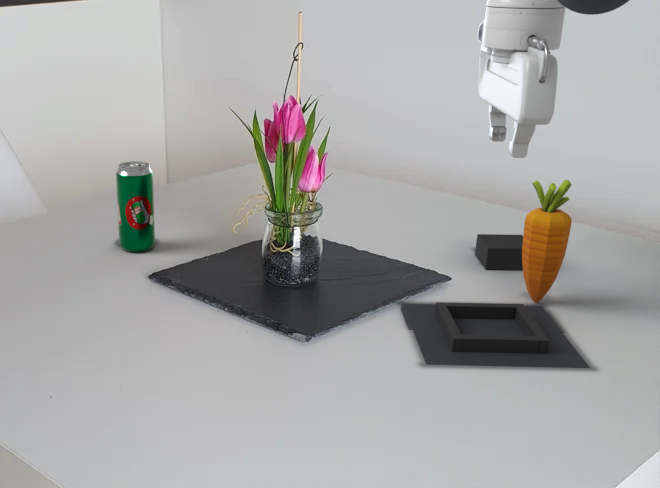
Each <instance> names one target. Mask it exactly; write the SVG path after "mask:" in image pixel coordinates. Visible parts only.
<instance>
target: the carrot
mask: <svg viewBox="0 0 660 488" xmlns="http://www.w3.org/2000/svg"><path fill="white" fill-rule="evenodd" d="M572 186H573V185H572V183H571V181H570V180H568V179H564V180H563V181H562V183H561V184H560V185H559V186H558V187H557V186H556V183H555V182H552V183H550V184H549V185H548V188H547V191H546V193H545V192H544V189H543V186H542V185H541V183H540V181H539V180H534V181H533V182H532V187H534V190H535V192H536V194H537V197H538V199H539V203H540V205H541V207H537V208H535V209H533V210H531V211H530V212H528V213H526V216H525V219H524V227H523V234H522V235H523V245H522V264H523V270H522V275H523V280H524V283H525V287H526V290H527V293H528V295H529V297H530V300H531V301H533V303H534V304H538V303H540V301H542V300H543V299H544V297H545V296H546V295H547V293H548V292H549V291H550V290H551V288H552V286H553V285H554V283H555V281H556V280H557V278H558V275H559V272H560V270H561V267H562V265H563V262H564V259H565V256H566V252H567V247H568V244H569V238H570V234H571V228H572V222H573V221H572V217H571V216H570V214H569V213H567V212H565V211H563V210H562V209H559V208H560V207H561V206H563V205H565V204H566V203H567V202H568V201H570V197H569V196H565V194H567V192H568V191H569V190H570V188H571V187H572Z"/></svg>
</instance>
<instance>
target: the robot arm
mask: <svg viewBox="0 0 660 488" xmlns="http://www.w3.org/2000/svg"><path fill="white" fill-rule="evenodd" d="M628 2H630V0H486V6H485V15H484V17H483V21H481V23H480V24H479V25H478V27H477V36H476V38H477V39H476V40H477V42H478V43H480V45H481V46H480V50H479V57H478V59H479V60H478V62H479V63H478V75H477V76H478V78H477V79H478V80H477V87H478V89H477V90H478V95H479V99H481V100H483V101H484V102H486V103H487V104H488V110H487V112H488V120H489V121H488V122H489V131H488V138H489V140H490V141H492V142H499V143H500V142H504V141H505V140H506V137H507V129H508V127H506V125H507V123H506V122H507V117H509V118H510V119H512V120H514V121H513V129H514V131H513V136H512V138H511V140H509V148H508V154H509V155H510V156H511V157H512V158H514V159H524V158H526V157H527V156H528V151H529V146H530V145H529V144H530V143H531V140H532V139H533V136H534V133H535V132H536V127H537V126H538V125H539V126H544V125H545V126H547V125H549V124H550V122H551V120H552V118H553V116H554V113H555V105H556V104H555V103H556V96H557V86H558V69H559V67H558V59H557V58H556V56H554V55H553V54H552V52H551V51H556V50H559V49H560V48H561V42H562V41H561V40H562V34H563V27H564V22H565V14H566V9H568V10H570V11H572V12H574V13H577V14H581V15H587V16H588V15H592V16H593V15H602V14H607V13H610V12H612V11H615V10H617V9H619V8H621V7H622V6H624V5H625V4H627V3H628Z"/></svg>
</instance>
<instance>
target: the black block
mask: <svg viewBox="0 0 660 488" xmlns="http://www.w3.org/2000/svg"><path fill="white" fill-rule="evenodd" d="M522 245H523V234H498V233H497V234H493V233H491V234H489V233H488V234H487V233H486V234H485V233H483V234H482V233H480V234H479V233H478V234H477V235H476V244H475V250H474V251H475V252H474V256H475V257H476V258H477V260H478V262H480V265H481V266H482V267H483V268H484V270H487V271H488V270H489V271H523V264H522Z"/></svg>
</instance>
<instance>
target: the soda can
mask: <svg viewBox="0 0 660 488" xmlns="http://www.w3.org/2000/svg"><path fill="white" fill-rule="evenodd" d="M117 167H118V168H117V170H116V172H115V182H116V202H117V204H116V205H117V223H118V225H117V226H118V243H119V244H118V245H119V246H120V248H121V249H122V250H123V251H126V252H129V253H144V252H148V251H150V250H151V249H153V247H154V246H155V245H156V230H155V200H154V199H155V197H154V194H155V193H154V171H153V170H152V168H151V164H150V163H149V162H146V161H139V160H138V161H137V160H136V161H135V160H134V161H133V160H132V161H125V162H120V163H119V164H118V166H117Z"/></svg>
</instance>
